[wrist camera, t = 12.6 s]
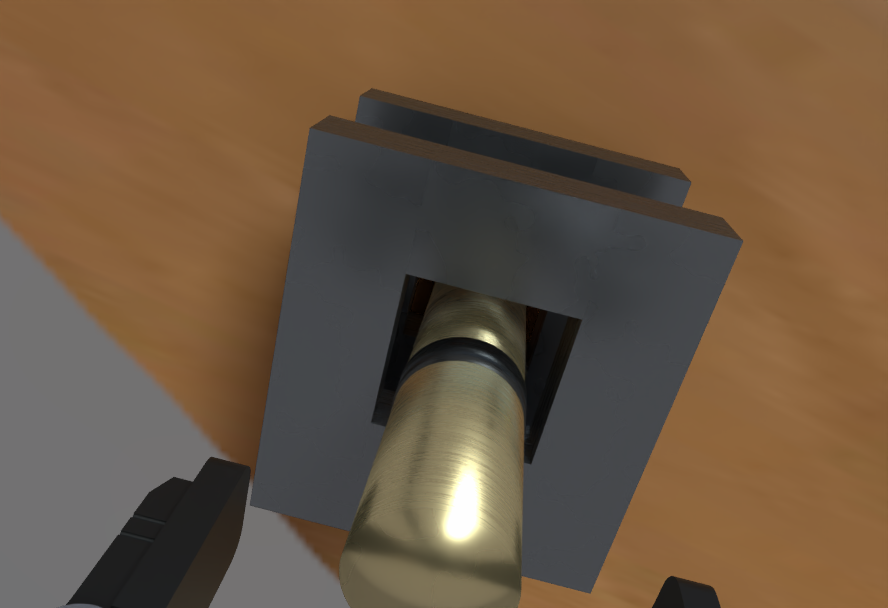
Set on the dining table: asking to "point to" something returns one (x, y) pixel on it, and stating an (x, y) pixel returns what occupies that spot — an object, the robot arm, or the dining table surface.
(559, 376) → the collar stand
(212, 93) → the dining table surface
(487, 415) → the brass tube
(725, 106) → the dining table surface
